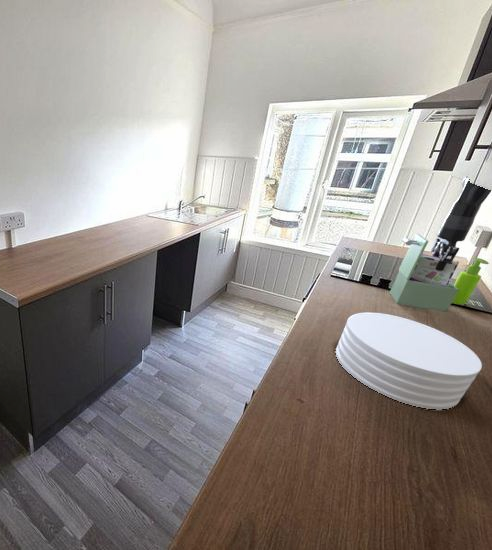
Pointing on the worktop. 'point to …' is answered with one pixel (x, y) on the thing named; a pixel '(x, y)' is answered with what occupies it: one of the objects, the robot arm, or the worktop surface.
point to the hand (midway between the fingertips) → (435, 267)
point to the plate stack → (407, 360)
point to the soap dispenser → (467, 281)
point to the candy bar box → (433, 271)
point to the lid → (412, 254)
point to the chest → (422, 294)
